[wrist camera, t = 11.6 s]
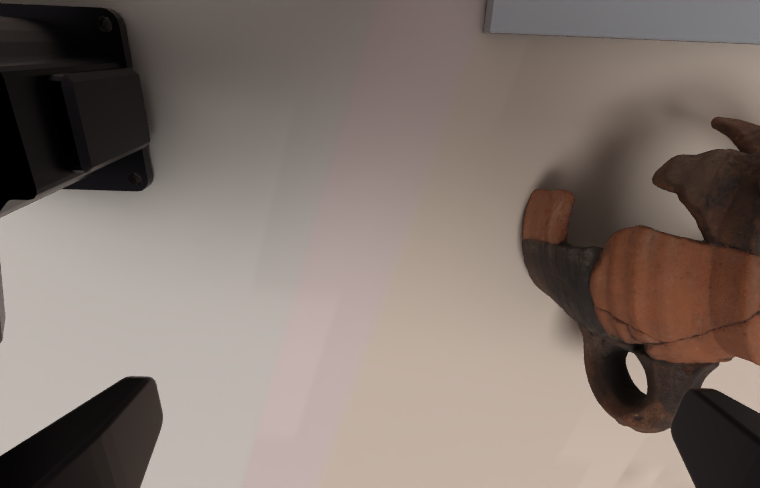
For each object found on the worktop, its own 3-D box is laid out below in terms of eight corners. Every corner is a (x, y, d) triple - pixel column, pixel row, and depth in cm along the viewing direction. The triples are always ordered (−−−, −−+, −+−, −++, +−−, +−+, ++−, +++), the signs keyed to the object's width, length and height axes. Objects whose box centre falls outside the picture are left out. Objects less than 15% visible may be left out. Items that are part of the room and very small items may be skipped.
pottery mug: (519, 116, 18) (774, 92, 11) (653, 138, 22) (893, 131, 15) (487, 392, 20) (685, 525, 13) (617, 360, 24) (814, 445, 17)
